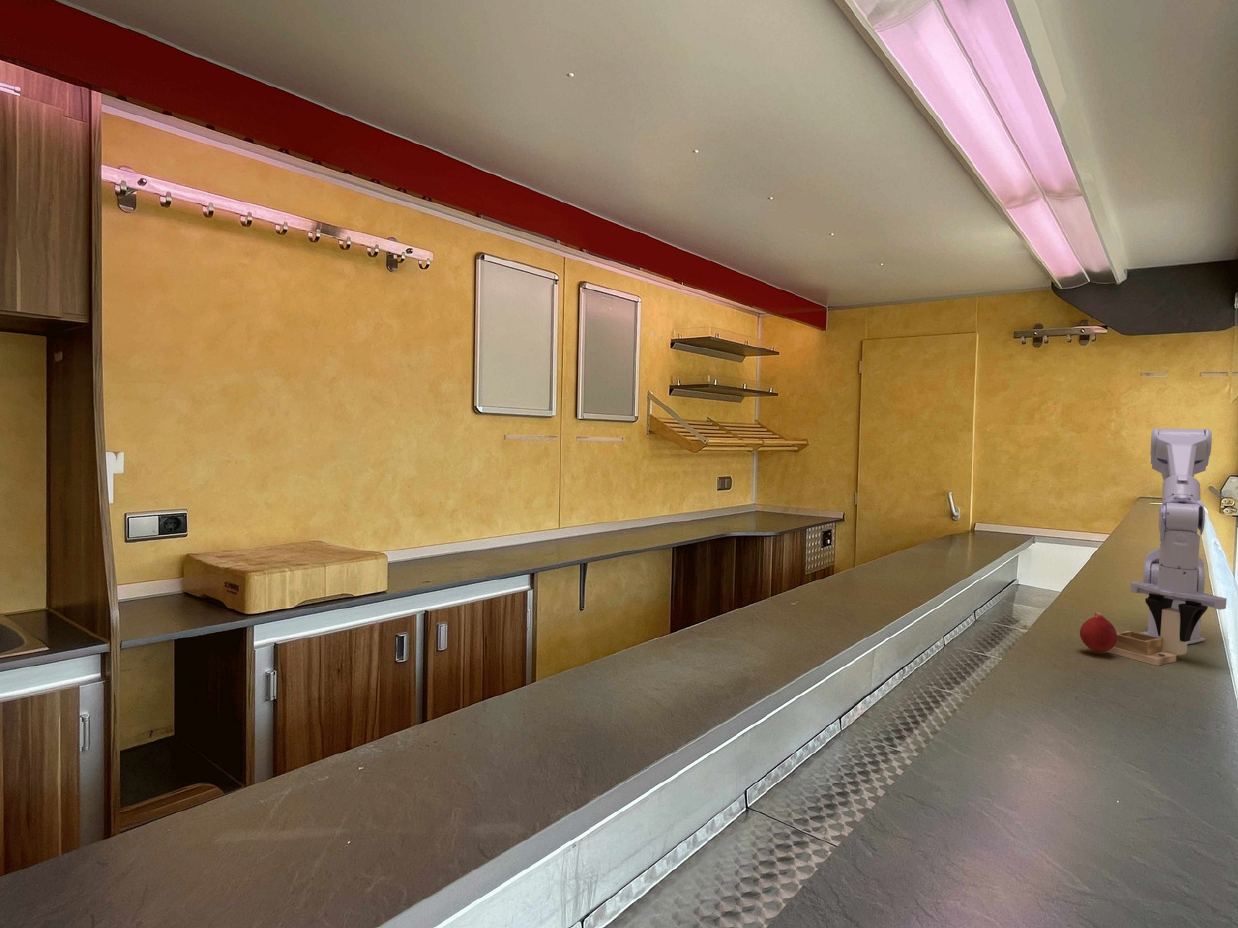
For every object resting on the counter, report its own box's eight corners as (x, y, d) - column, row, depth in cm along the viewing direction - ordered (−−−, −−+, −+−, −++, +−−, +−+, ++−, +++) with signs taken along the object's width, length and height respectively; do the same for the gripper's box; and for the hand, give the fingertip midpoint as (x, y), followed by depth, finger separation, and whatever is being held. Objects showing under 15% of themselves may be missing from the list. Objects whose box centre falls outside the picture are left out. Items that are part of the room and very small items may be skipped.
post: (1167, 648, 133) (1170, 607, 133) (1186, 653, 130) (1189, 611, 130) (1159, 650, 132) (1162, 609, 131) (1177, 655, 129) (1180, 612, 129)
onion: (1104, 650, 135) (1106, 609, 134) (1123, 659, 129) (1125, 617, 129) (1072, 648, 135) (1075, 607, 135) (1089, 658, 129) (1092, 615, 129)
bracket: (1117, 645, 138) (1118, 627, 138) (1176, 661, 129) (1177, 641, 129) (1098, 649, 135) (1099, 630, 135) (1157, 665, 126) (1158, 645, 126)
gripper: (1123, 561, 135) (1119, 630, 136) (1214, 575, 122) (1209, 652, 123) (1143, 558, 138) (1139, 626, 139) (1234, 573, 125) (1229, 647, 126)
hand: (1173, 638), depth 131 cm, fingers closed on post, 3 cm apart
